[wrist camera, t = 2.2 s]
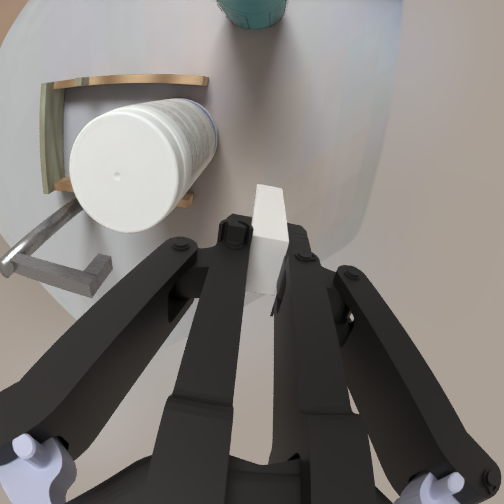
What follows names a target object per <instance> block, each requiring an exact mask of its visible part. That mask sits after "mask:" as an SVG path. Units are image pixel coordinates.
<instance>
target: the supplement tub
mask: <svg viewBox="0 0 504 504" xmlns="http://www.w3.org/2000/svg"><path fill="white" fill-rule="evenodd" d="M216 147H217V128H216V125H215V122H214V120H213V118H212V116H211V115H210V114H209V112H208V111H207V110H206V109H205V108H204V107H203V106H201V105H200V104H198V103H196V102H194V101H192V100H188V99H183V98H173V99H165V100H158V101H152V102H145V103H140V104H134V105H129V106H125V107H120V108H117V109H114V110H112V111H109V112H107V113H105V114H103V115H100V116H99V117H97V118H95V119H93V120H92V121H91V122H89V123H88V124H87V125H86V126H85V127H84V128H83V129H82V131H81V132H80V133H79V135H78V136H77V138H76V140H75V142H74V145H73V148H72V151H71V155H70V165H69V170H70V179H71V184H72V187H73V190H74V193H75V195H76V197H77V199H78V201H79V203H80V204H81V206H82V207H83V209H84V210H85V211H86V212H87V214H88V215H89V216H90V217H92V218H93V219H94V220H95V221H96V222H98V223H99V224H101V225H102V226H104V227H106V228H108V229H111V230H113V231H117V232H122V233H137V232H142V231H145V230H148V229H150V228H152V227H154V226H155V225H157V224H158V223H159V222H161V221H162V220H163V219H164V218H165V217H166V216H167V215H169V214H170V213H171V212H172V211H173V209H174V208H175V207H176V206H177V204H178V203H179V202H180V200H181V199H182V198H183V196H184V195H185V194H186V192H187V191H188V190H189V188H190V187H191V186H192V185H193V183H194V182H195V181H196V179H197V178H198V177H199V175H200V174H201V173H202V172H203V170H204V169H205V168H206V167H207V165H208V164H209V163H210V161H211V160H212V158H213V156H214V154H215V151H216Z"/></svg>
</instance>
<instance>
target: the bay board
mask: <svg viewBox="0 0 504 504" xmlns="http://www.w3.org/2000/svg"><path fill="white" fill-rule="evenodd" d="M208 79H209V77H205V76H194V75H174V74H130V75H110V76H98V77H84V78H76V79H71V80H64V81H58V82H51V83H44V84H41V97H40V157H41V172H42V183H43V192H44V194H50V193H51V192H53V191H54V190H58V191H67V192H74V190H73V187H72V184H71V179H70V178H66V177H64V160H63V110H64V93H65V88H69V87H78V86H88V85H100V84H118V83H170V84H189V85H202V86H207V85H208ZM193 196H194V193H190V192H186V194H185V195H184V196H183V198H182V199H181V200H180V202H179V203H178V204H177V206H176V207H181V208H187V209H188V207H189V206H190V204H191V203H192V201H193ZM75 198H77V197H76V195H75Z"/></svg>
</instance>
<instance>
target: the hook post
mask: <svg viewBox="0 0 504 504" xmlns="http://www.w3.org/2000/svg"><path fill="white" fill-rule="evenodd" d="M82 210H83V207H82V206H81V204H80V203H79V201H78V199H77V198H74V199H72V200H71V201H70V202H68V203H67V204H66V205H64V206H63V207H61V208H60V209H59V210H57V211H56V212H55V213H53V214H52V215H51V216H50V217H48V218H47V219H46V220H44V221H43V222H42V223H41V224H39V225H38V226H37V227H36V228H35V229H33V230H32V231H31V232H30V233H28V234H27V235H26V236H25V237H24V238H23V239H21V240H20V241H19V242H18V243H17V244H16V245H15V246H13V247H12V248H11V249H10V250H9V251H8V252H7V253H6V254H5V255H4V256H3V257H2V258H1V259H0V272H1V274H2V275H3V276H4V277H6V278H9V277H10V275H11V274H12V273H13V272H15V273H18V274H20V275H23V276H26V277H28V278H31V279H34V280H37V281H40V282H43V283H46V284H48V285H51V286H54V287H58V288H61V289H64V290H67V291H70V292H73V293H77V294H80V295H83V296H87V297H90V298H92V297H93V296H94V295H95V293H96V292H97V290H98V289H99V287H100V286H101V285H102V283H103V282H104V280H105V279H106V278H107V276H108V275H109V273H110V272H111V271H112V269H113V267H112V260H111V256H107V255H102V254H98V255H97V256H96V257H95V258H94V259H93V261H92V262H91V263H90V264H89V265H88V267H87V268H86V269H85V270H84V271H81V270H77V269H73V268H69V267H66V266H62V265H58V264H55V263H51V262H48V261H44V260H41V259H38V258H34V257H31V256H30V255H31V254H32V253H34V252H35V251H36V250H37V249H38V248H39V247H40V246H41V245H42V244H43V243H44V242H45V241H46V240H48V239H49V238H50V237H51V236H52V235H53V234H54V233H55V232H57V231H58V230H59V229H60V228H61V227H62V226H64V225H65V224H66V223H67V222H68V221H69V220H71V219H72V218H73V217H74V216H76V215H77V214H78V213H79V212H80V211H82Z"/></svg>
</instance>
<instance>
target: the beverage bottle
mask: <svg viewBox="0 0 504 504" xmlns="http://www.w3.org/2000/svg"><path fill="white" fill-rule="evenodd" d="M287 1H288V0H217V2H218V3H219V5H220V7H221V8H222V9H223V11H224V12H225V14H226V15H227V17H228V18H229V19H230V20H231V22H233V23H234V24H236V25H238V26H240V28H241V27H243V28H247V29H249V30H250V29H261V28H265V27H268V26H271V25H272V26H273V24H274V23H276V22H277V21H278V20H280V19H281V17H282V16H283V14H284V12H285V8H286V2H287ZM217 5H218V4H217ZM287 6H288V5H287ZM220 7H219V8H220ZM221 8H220V9H221ZM221 11H222V10H221ZM223 14H224V13H223ZM227 17H226V18H227ZM233 23H232V24H233ZM277 23H278V22H277ZM274 25H275V24H274Z"/></svg>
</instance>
